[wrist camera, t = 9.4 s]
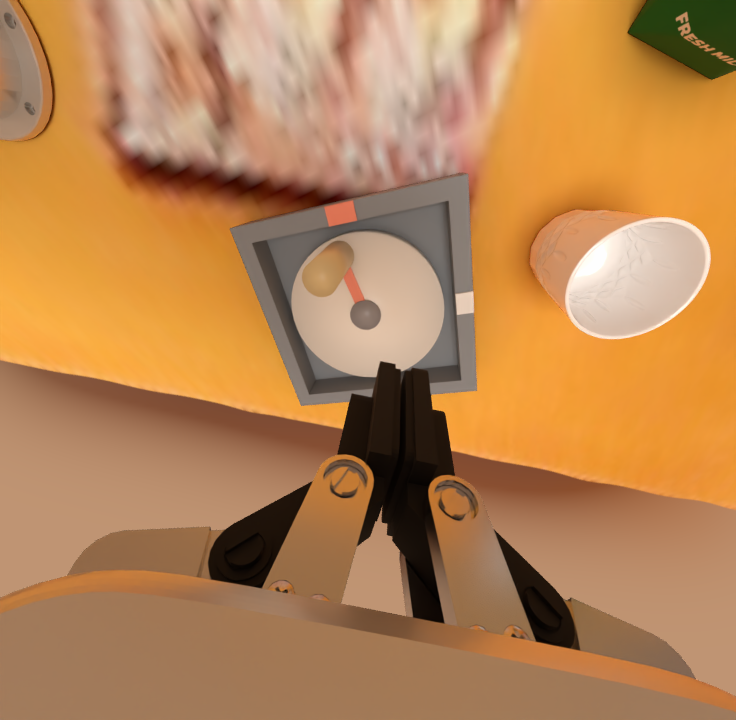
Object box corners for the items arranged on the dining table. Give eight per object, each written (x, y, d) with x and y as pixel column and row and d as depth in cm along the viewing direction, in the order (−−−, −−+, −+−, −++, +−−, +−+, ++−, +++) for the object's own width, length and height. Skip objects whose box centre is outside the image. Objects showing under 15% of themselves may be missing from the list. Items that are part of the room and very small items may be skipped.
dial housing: (310, 385, 40) (300, 406, 37) (250, 221, 30) (228, 228, 27) (471, 369, 36) (477, 391, 33) (461, 172, 26) (468, 173, 23)
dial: (459, 346, 33) (472, 399, 26) (335, 380, 38) (315, 434, 30) (414, 200, 27) (415, 214, 19) (271, 264, 31) (224, 295, 24)
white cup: (553, 307, 31) (605, 359, 23) (504, 252, 29) (540, 287, 21) (636, 246, 28) (735, 282, 19) (586, 178, 25) (672, 184, 17)
